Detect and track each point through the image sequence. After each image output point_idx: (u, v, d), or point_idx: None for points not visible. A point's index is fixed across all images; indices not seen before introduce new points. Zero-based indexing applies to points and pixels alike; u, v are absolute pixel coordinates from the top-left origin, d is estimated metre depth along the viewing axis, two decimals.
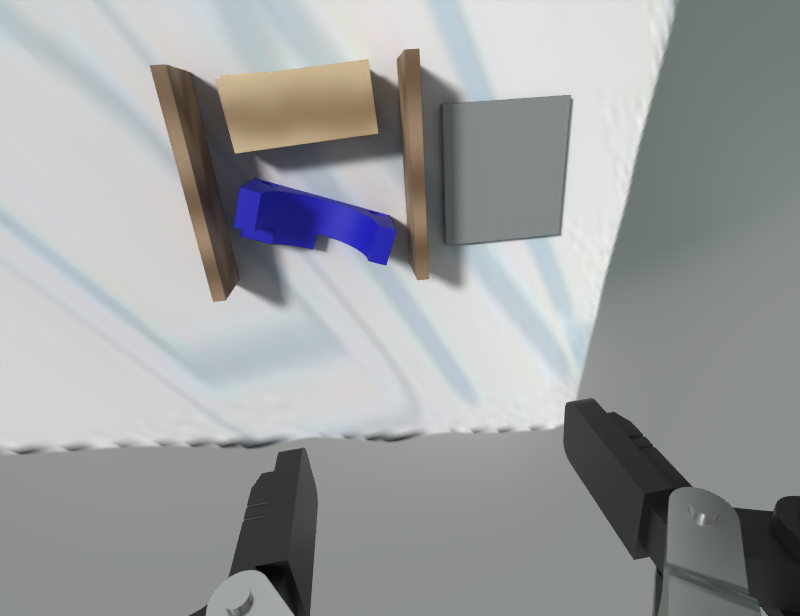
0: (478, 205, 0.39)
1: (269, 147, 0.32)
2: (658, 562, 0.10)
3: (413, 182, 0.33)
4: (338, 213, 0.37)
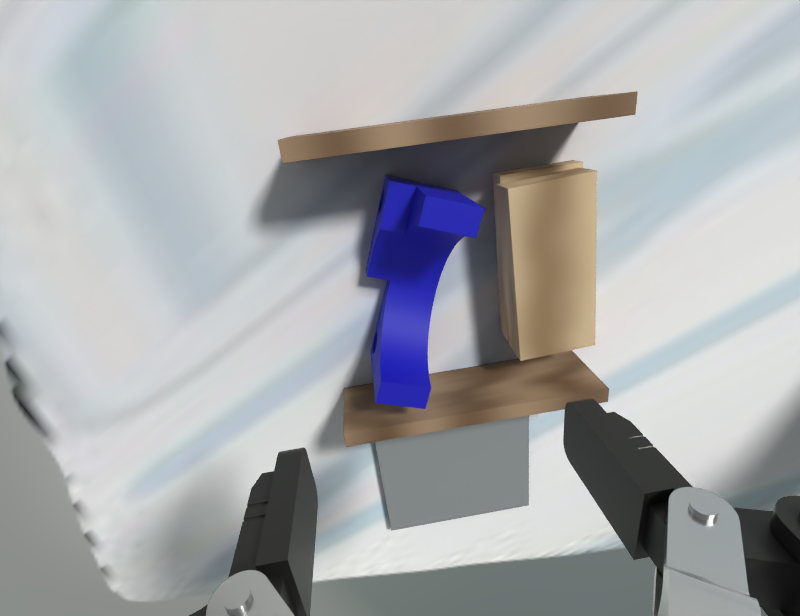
0: (421, 452, 0.33)
1: (512, 235, 0.24)
2: (658, 562, 0.10)
3: (471, 413, 0.27)
4: (420, 308, 0.27)
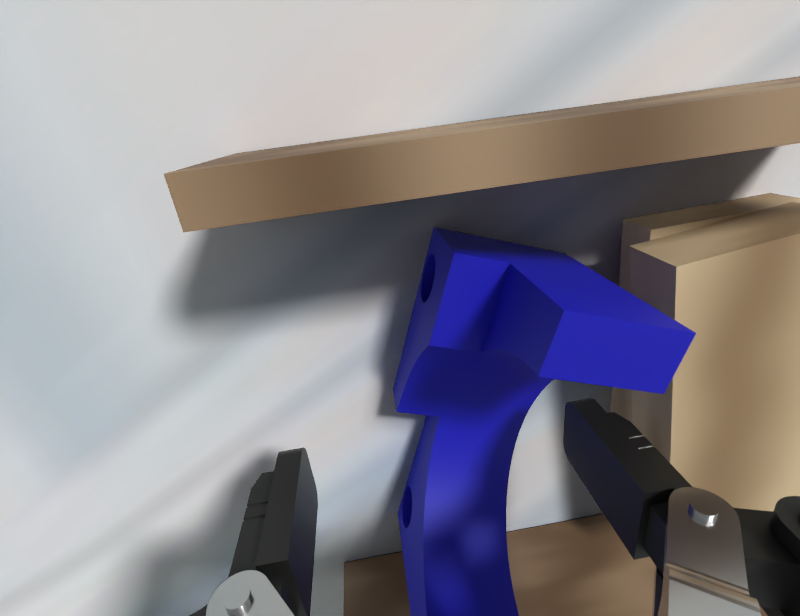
0: None
1: None
2: (658, 562, 0.10)
3: None
4: (491, 461, 0.15)
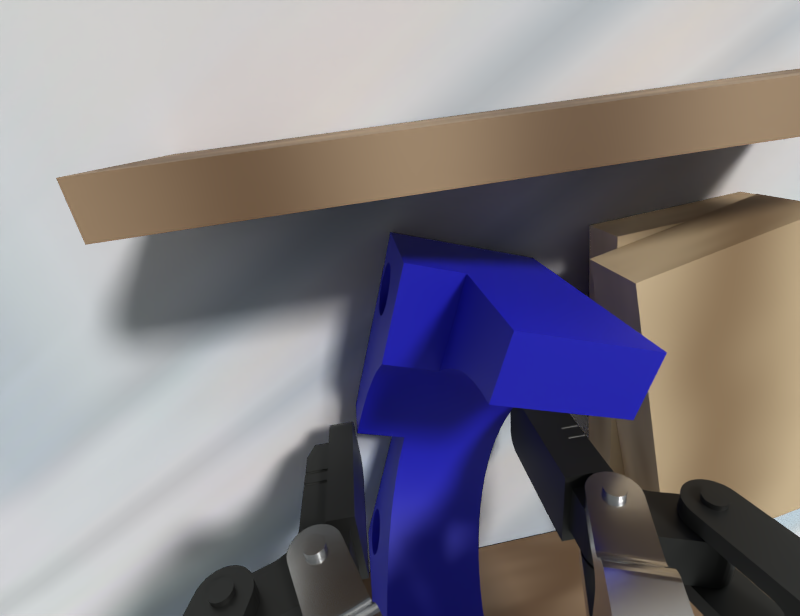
0: None
1: None
2: (582, 549, 0.10)
3: None
4: (462, 482, 0.14)
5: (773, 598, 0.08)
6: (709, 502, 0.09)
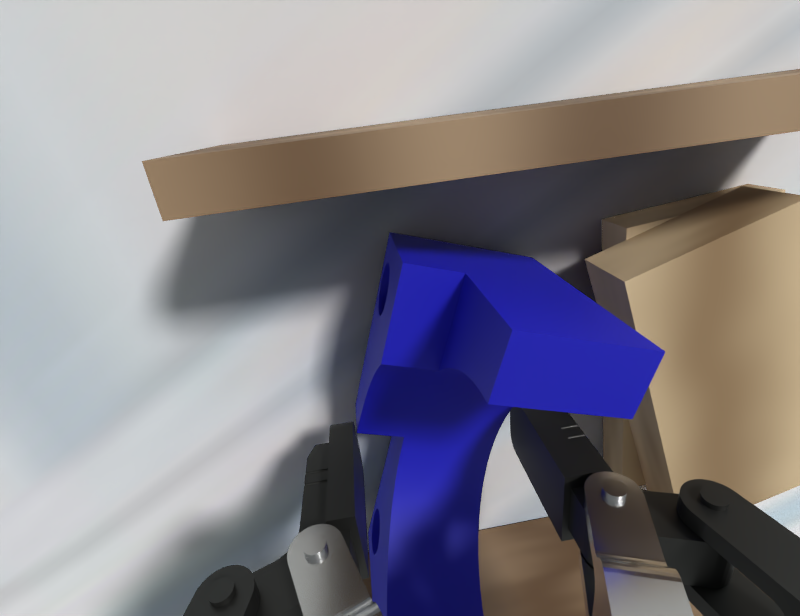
0: None
1: None
2: (582, 549, 0.10)
3: None
4: (462, 482, 0.14)
5: (772, 598, 0.08)
6: (708, 502, 0.09)
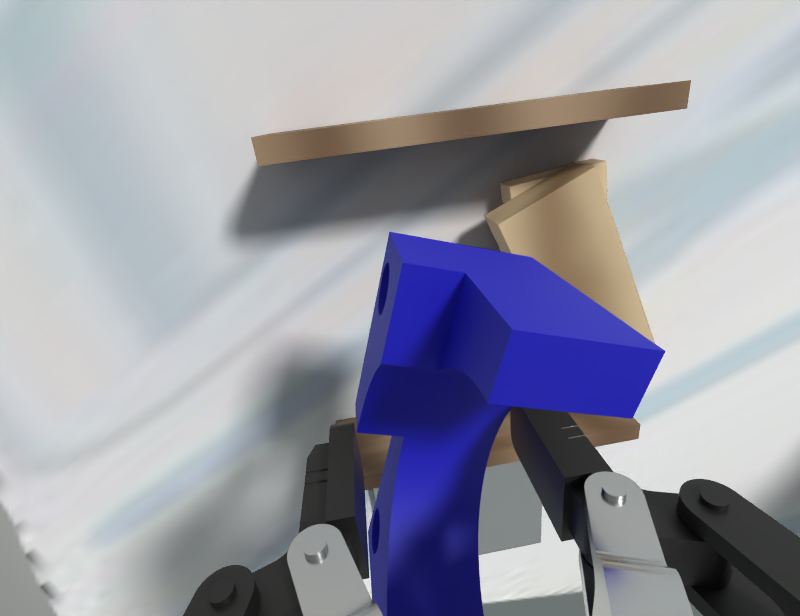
0: None
1: None
2: (582, 549, 0.10)
3: None
4: (461, 482, 0.14)
5: (772, 598, 0.08)
6: (708, 502, 0.09)
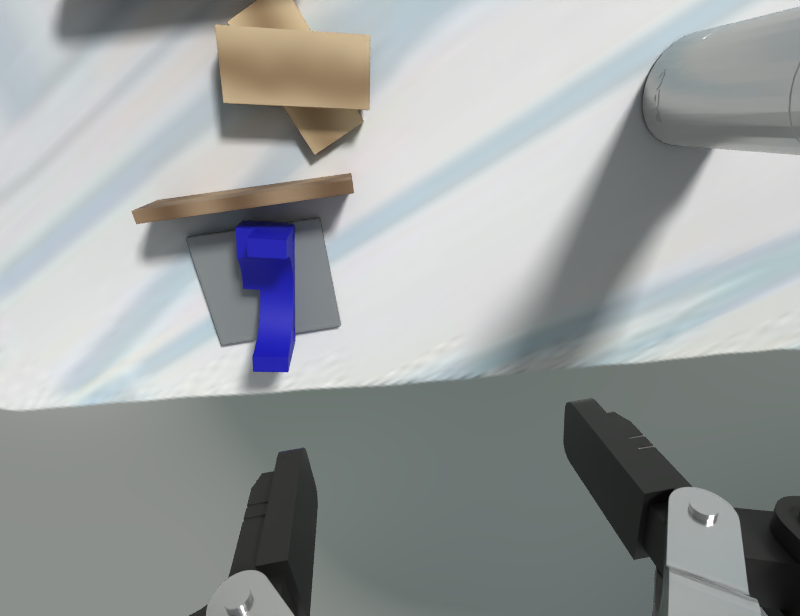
0: (234, 264, 0.40)
1: (259, 103, 0.33)
2: (658, 562, 0.10)
3: (238, 197, 0.33)
4: (284, 306, 0.40)
5: None
6: None
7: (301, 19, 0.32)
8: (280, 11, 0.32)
